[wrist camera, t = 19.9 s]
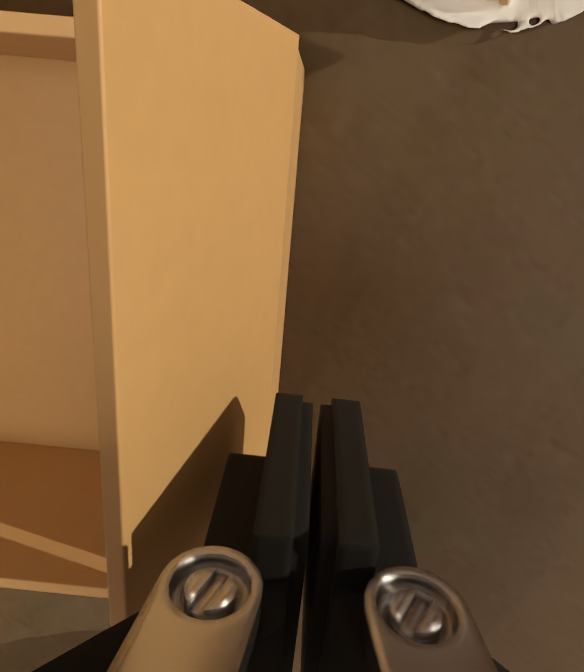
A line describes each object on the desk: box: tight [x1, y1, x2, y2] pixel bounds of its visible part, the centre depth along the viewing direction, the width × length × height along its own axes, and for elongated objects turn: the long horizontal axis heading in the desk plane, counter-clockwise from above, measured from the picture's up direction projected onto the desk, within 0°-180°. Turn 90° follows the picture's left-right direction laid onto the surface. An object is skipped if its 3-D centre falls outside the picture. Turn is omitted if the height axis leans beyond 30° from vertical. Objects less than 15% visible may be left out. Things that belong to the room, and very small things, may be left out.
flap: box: [73, 0, 299, 627], centre depth 10 cm, size 16×6×1 cm
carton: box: [0, 11, 305, 598], centre depth 17 cm, size 16×13×7 cm
